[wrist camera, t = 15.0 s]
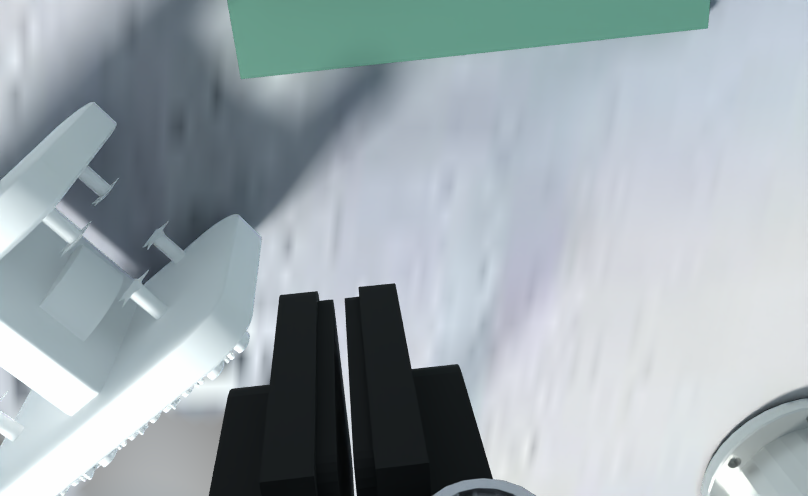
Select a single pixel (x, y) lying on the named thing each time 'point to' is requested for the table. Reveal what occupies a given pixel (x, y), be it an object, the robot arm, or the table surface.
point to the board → (433, 28)
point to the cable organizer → (103, 318)
